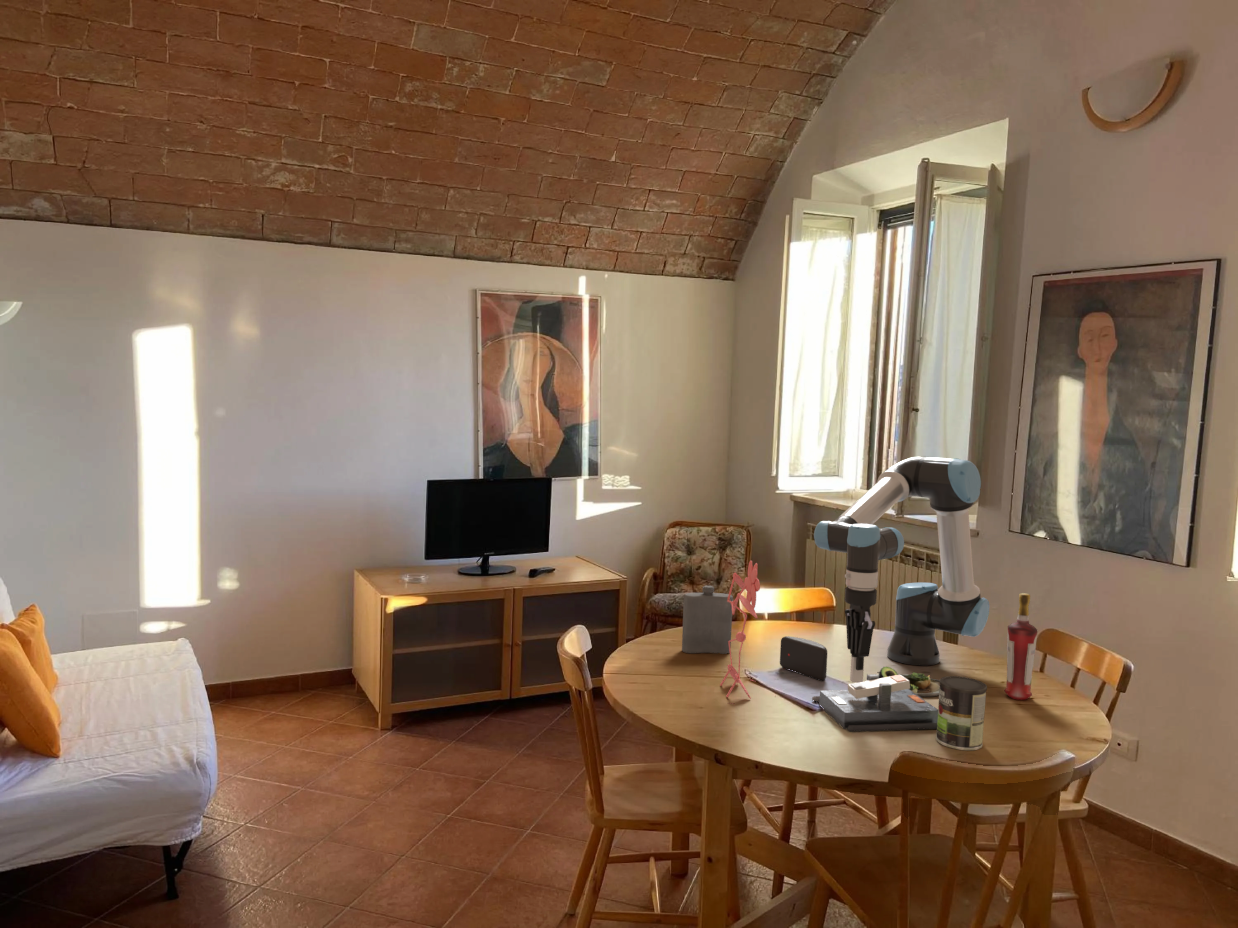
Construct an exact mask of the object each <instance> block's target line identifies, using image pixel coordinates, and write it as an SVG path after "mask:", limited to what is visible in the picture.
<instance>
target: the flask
mask: <svg viewBox="0 0 1238 928" xmlns="http://www.w3.org/2000/svg"><path fill="white" fill-rule="evenodd" d="M701 590H702V592H687V593H684V594H683V609H682V613H683V615H682V639H681V651H682V652H683V653H685V654H718V653H720V654H721V655H722V654H723V655H726V654H727V653H728V654H730V652H729V644H728V641H730V640H732V629H733V628H732V627H733V626H732V625H733V624H732V622H733V615H732V606H731V603H729V602H727V599H728V595H729V593H720V592H719V593H718V592H715V587H714V586H712V585H704V586H702V589H701ZM729 600H730V601H732V602H733V601H734V598H733V595H732V594H731V595H730V599H729ZM731 647H732V641H731V642H730V649H732V648H731ZM720 654H719V655H720Z"/></svg>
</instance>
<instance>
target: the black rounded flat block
mask: <svg viewBox="0 0 1238 928" xmlns="http://www.w3.org/2000/svg"><path fill="white" fill-rule="evenodd" d="M779 652H780V653H779V665H780V667H781V668H783V669H784V668H785V669H784V670H787V669H790V670H793V671H796V672H798V673H797V674H799V673H801V674H800V675H802V674H804V675H803V676H805V675H806V676H805V677H809V676H810V677H809V678H812V679H814V680H818V679H819V681H825V680H827V679H826V678H827V672H828V671H827V670H828V669H827V666H828V649H827V648H826V646H824V645H823V644H821V643H819V642H816V641H814V640H810V639H806V638H802V637H798V636H797V637H796V636H789V635H788V636H782V637H781V638H780V649H779ZM790 670H789V671H790ZM793 671H792V672H793ZM796 672H795V673H796Z"/></svg>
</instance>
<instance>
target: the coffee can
mask: <svg viewBox="0 0 1238 928" xmlns="http://www.w3.org/2000/svg"><path fill="white" fill-rule="evenodd" d="M938 680H939V683H940V684H939V686H940V690H939V695H938V707H937V709H938V721H937V729H936V736H935V739H936V740H935V741H936V742H938V743H939V744H940V745H943V746H944V747H947V748H950V749H954V750H958V751H967V752H968V751H969V752H970V751H976V750H979V749H982V748H983V739H984V737H983V736H984V724H985V723H984V722H985V707H986V697H987V690H988V686H987V684H986V683H985V682H983V681H980V680H978V679H975V678H970V677H966V676H957V675H951V676H950V675H948V676H943V677H941V678H940V679H938Z"/></svg>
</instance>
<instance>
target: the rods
mask: <svg viewBox="0 0 1238 928" xmlns="http://www.w3.org/2000/svg"><path fill="white" fill-rule="evenodd" d="M811 700H812V701H813V700H814V701H818V702H817V703H819V701H820V695H817V696H812V698H811ZM814 701H813V702H814ZM847 730H848V732H872V731H874V732H877V731H881V732H882V731H910V730H911V731H913V730H914V731H917V730H937V723H915V724H878V725H849V726H848V729H847Z"/></svg>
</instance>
